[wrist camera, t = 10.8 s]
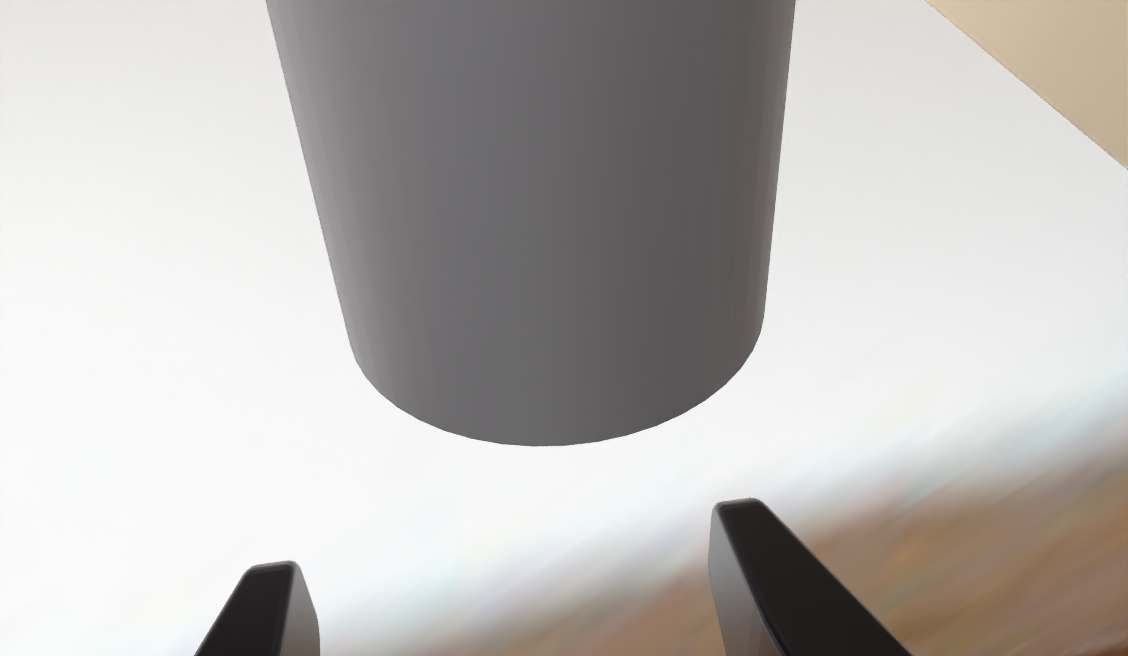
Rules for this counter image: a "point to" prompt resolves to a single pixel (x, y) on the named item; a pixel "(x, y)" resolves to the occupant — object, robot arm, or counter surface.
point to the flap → (586, 188)
